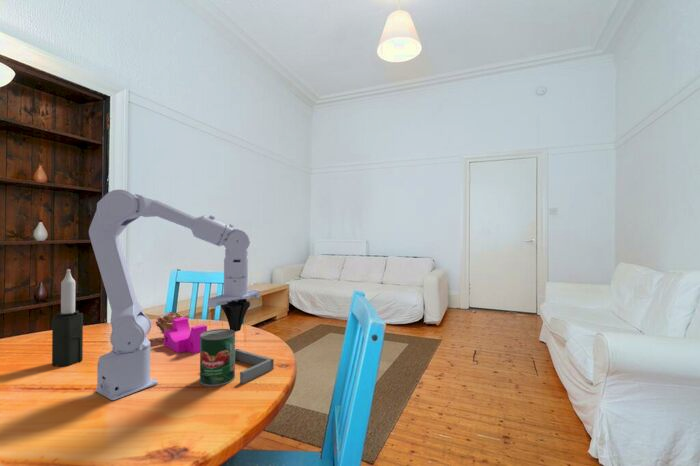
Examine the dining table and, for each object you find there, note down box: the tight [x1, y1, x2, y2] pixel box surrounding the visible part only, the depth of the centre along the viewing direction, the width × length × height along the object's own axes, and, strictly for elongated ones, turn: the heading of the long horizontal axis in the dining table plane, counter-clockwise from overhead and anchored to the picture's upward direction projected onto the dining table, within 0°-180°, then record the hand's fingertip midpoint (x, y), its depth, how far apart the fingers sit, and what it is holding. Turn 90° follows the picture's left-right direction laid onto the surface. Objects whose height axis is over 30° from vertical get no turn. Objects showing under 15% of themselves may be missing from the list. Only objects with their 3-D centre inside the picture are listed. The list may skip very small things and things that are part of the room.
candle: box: [51, 268, 84, 368], centre depth 88 cm, size 5×5×25 cm
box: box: [235, 348, 275, 384], centre depth 85 cm, size 10×14×2 cm
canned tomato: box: [199, 328, 236, 387], centre depth 79 cm, size 8×8×11 cm
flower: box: [155, 311, 188, 335], centre depth 110 cm, size 10×9×8 cm
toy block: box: [163, 317, 208, 355], centre depth 101 cm, size 15×6×8 cm, turn 50°
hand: (235, 330), depth 84 cm, fingers closed
